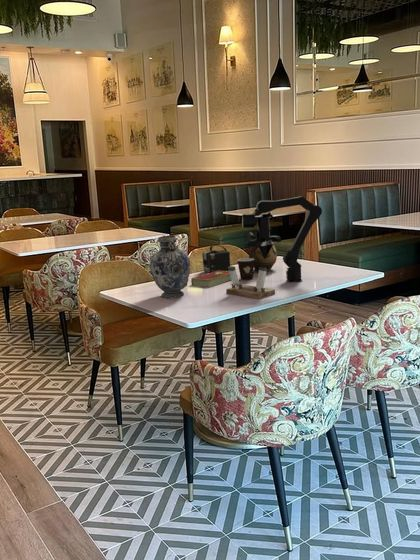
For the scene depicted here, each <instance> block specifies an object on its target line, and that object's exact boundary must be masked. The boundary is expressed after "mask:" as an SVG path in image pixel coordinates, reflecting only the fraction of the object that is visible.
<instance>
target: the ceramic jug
mask: <svg viewBox="0 0 420 560" xmlns="http://www.w3.org/2000/svg"><path fill="white" fill-rule="evenodd" d="M271 244H274V245H273V246H272V247H271V249H270V252H269V254H268V256H267V259H264V258H263V255H262V253H261V251H260V249H259V248H258V247H250V248H249V251H248V258H253V259H254V262H256V261H260V262H261V264H262V266H261V264H260V263H259V262H257V263H255V265H254V271H256V270H257V269H258V268H259V267H260V266H261V267H262V268H267V272H270V271H271V270H272V269H273V267H274V265H275V263H276V262H277V258H278V253H277V248H276V246H275V243H274V241H272V242H271ZM256 272H259V270H257V271H256Z"/></svg>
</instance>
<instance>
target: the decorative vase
mask: <svg viewBox="0 0 420 560" xmlns="http://www.w3.org/2000/svg"><path fill="white" fill-rule="evenodd" d="M178 240H179V237H176V235H171V234H169V235H168V234H167V235H164V234H163V235H161V236H159V237H158V239H157V240H156V242H157V243H159V245H160V246H159V247H160V249H159V250H158V251H156V252H155V253H153V254H152V255H151V256H150V261H149V268H150V273H151V274H150V275H151V278H152V279H153V281H154V283H155V284H156V286H157V287H158V288H159V289H160V290H161V291H163V293H161V298H165V299H175V297H176V298H180V297H183V296H184V295H185V292H184V291H182V290H184V289H185V288H186V287H188V282H189V278H190V274H191V273H190V272H191V261H190V257H189V255H188V253H187V252H186V251H184V250H182V249H180V248H178V247H177V243H176V242H177V241H178Z"/></svg>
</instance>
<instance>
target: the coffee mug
mask: <svg viewBox="0 0 420 560" xmlns="http://www.w3.org/2000/svg"><path fill="white" fill-rule="evenodd" d="M236 261H237V265H238V272H239V277H240V280H242V281H250V280H253V279H254V274H255V273H256V272H258V271H257V270H259V268H258V269H257V270H256V271H255V270H254V265H255V263H257V262H259V263H260V264H261V262H260V261H256V262H254V259H253V258H249V257H246V258H245V257H244V258H239V259H237V260H236ZM261 266H262V264H261ZM261 266H260V267H261Z"/></svg>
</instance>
